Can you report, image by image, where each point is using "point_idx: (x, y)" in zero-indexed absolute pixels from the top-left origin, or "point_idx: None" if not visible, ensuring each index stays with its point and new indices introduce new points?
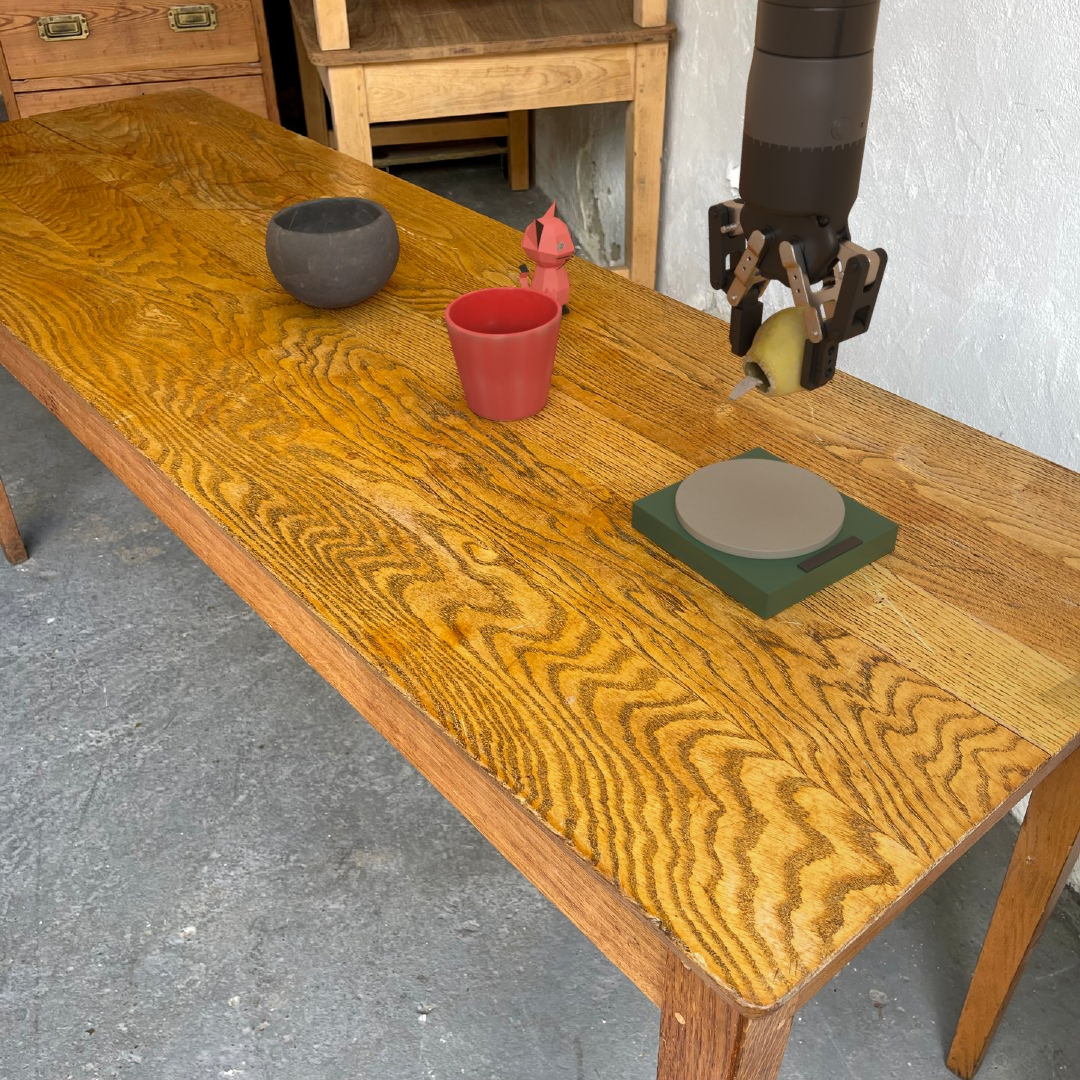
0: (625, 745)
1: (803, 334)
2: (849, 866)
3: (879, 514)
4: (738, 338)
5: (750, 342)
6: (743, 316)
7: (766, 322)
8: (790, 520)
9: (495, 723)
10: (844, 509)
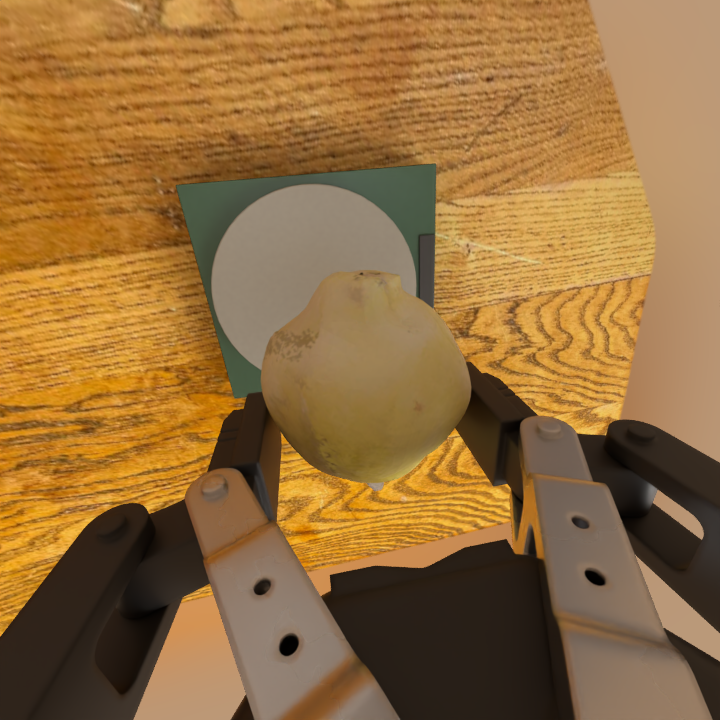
0: (454, 487)
1: (438, 440)
2: (592, 433)
3: (406, 168)
4: (279, 470)
5: (273, 424)
6: (275, 503)
7: (330, 472)
8: None
9: (394, 535)
10: (388, 217)
